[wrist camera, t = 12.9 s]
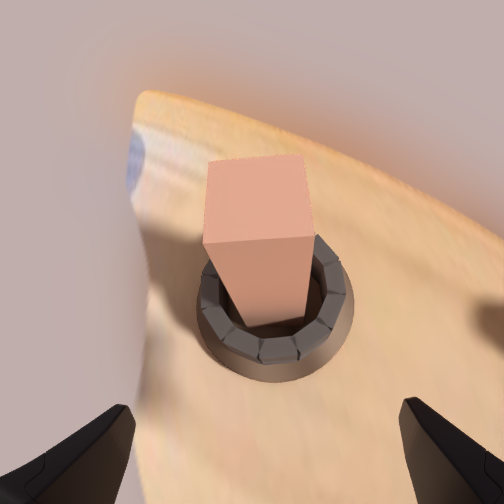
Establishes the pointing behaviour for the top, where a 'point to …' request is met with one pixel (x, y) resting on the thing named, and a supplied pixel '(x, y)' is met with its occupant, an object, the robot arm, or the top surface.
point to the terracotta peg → (261, 236)
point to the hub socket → (280, 338)
